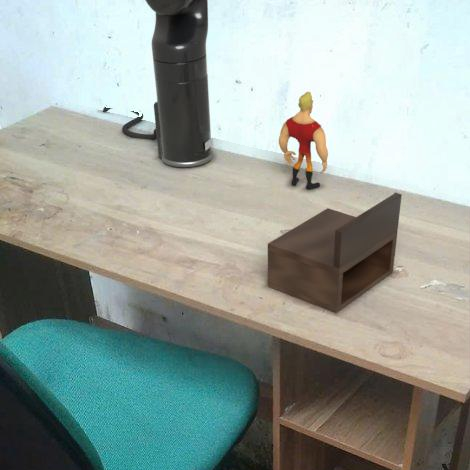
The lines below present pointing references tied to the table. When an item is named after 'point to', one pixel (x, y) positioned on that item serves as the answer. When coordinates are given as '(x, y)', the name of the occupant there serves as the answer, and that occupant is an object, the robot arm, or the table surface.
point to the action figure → (304, 140)
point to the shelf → (336, 255)
